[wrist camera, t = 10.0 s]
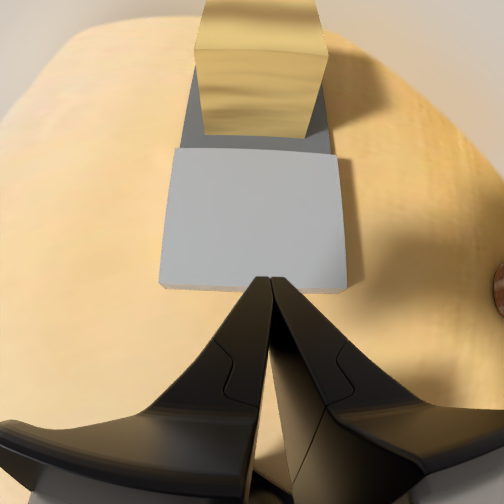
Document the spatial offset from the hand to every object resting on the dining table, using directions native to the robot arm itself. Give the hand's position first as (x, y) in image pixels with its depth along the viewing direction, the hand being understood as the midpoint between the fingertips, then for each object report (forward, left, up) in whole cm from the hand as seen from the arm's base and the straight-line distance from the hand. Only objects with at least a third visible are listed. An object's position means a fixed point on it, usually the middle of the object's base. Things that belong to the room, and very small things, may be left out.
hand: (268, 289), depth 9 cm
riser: (+4, -5, -13) cm, 14 cm away
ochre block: (+12, -14, -12) cm, 22 cm away
